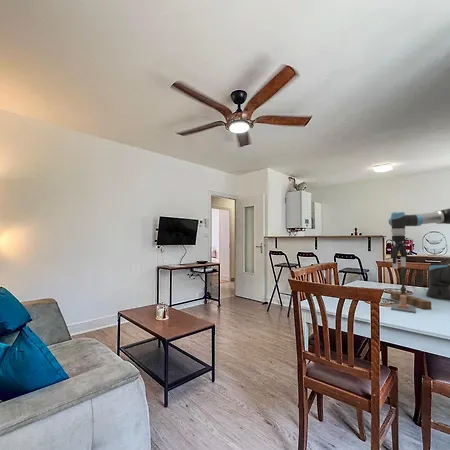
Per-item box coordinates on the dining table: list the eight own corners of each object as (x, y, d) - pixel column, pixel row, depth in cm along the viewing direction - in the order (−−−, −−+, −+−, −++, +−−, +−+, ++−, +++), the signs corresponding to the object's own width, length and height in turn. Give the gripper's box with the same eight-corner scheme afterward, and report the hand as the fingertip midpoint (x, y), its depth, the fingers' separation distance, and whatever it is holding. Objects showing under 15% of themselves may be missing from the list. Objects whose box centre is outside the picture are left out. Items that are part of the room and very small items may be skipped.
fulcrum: (392, 305, 171) (392, 292, 172) (415, 308, 164) (415, 295, 165) (391, 309, 162) (391, 296, 162) (415, 313, 155) (415, 299, 155)
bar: (390, 299, 187) (390, 292, 188) (397, 299, 188) (397, 292, 188) (424, 310, 162) (424, 302, 162) (431, 310, 163) (431, 301, 163)
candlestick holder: (413, 299, 187) (412, 256, 188) (399, 298, 189) (398, 255, 190) (407, 296, 196) (406, 255, 197) (393, 295, 198) (393, 254, 199)
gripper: (399, 234, 187) (400, 265, 186) (384, 235, 172) (385, 268, 171) (412, 234, 181) (412, 266, 180) (397, 235, 166) (398, 270, 165)
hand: (399, 267), depth 176 cm, fingers open, 13 cm apart
